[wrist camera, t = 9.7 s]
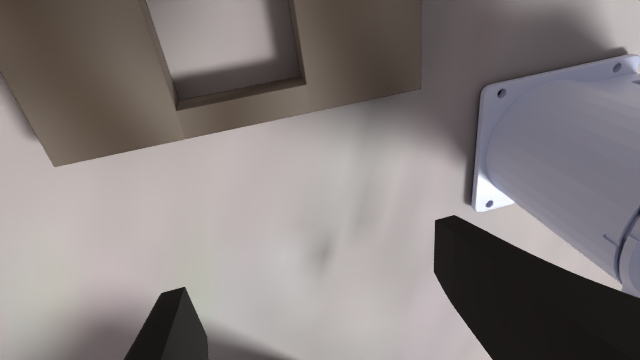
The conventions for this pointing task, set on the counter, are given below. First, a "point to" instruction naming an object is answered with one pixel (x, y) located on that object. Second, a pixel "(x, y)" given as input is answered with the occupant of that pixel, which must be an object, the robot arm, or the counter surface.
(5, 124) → the counter surface
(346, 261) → the counter surface
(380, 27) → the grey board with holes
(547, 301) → the robot arm
